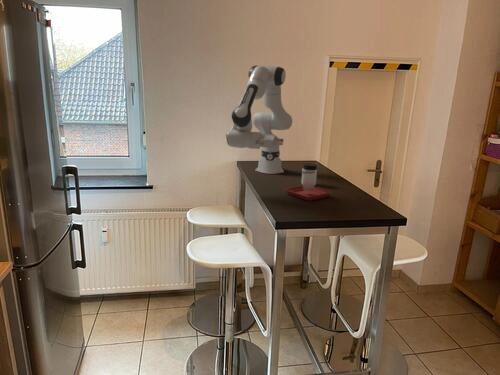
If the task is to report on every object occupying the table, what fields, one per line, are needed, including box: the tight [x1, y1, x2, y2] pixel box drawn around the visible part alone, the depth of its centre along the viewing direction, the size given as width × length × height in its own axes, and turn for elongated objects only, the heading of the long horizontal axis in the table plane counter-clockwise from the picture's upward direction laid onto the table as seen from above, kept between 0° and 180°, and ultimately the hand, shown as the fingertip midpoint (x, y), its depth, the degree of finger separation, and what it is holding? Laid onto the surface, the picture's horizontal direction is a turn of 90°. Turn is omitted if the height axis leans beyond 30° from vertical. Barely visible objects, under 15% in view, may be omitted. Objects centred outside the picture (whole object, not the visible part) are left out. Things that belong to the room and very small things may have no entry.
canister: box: [302, 170, 315, 191], centre depth 208 cm, size 6×6×10 cm
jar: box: [300, 162, 318, 186], centre depth 231 cm, size 9×8×12 cm
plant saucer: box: [284, 185, 332, 202], centre depth 209 cm, size 18×18×3 cm
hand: (283, 142), depth 203 cm, fingers open, 8 cm apart
